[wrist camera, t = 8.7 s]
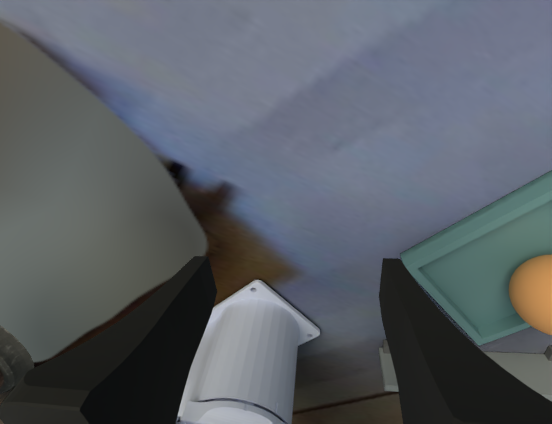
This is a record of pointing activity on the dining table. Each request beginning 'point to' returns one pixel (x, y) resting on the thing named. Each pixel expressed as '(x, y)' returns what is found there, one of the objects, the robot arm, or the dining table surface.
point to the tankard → (12, 361)
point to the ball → (533, 292)
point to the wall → (526, 367)
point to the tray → (485, 260)
